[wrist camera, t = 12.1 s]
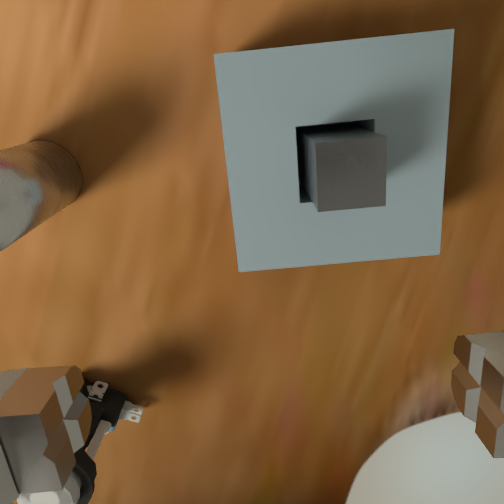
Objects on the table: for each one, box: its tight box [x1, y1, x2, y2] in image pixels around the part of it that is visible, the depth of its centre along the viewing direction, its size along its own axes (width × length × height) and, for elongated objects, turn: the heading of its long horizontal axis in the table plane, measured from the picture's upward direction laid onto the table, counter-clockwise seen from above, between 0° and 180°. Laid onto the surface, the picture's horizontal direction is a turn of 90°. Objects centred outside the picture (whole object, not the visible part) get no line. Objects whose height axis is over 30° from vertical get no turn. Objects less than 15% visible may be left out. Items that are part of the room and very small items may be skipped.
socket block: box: [214, 29, 454, 272], centre depth 26 cm, size 12×12×6 cm
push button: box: [17, 378, 144, 504], centre depth 31 cm, size 7×5×10 cm
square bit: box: [296, 123, 387, 212], centre depth 24 cm, size 3×3×9 cm
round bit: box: [0, 140, 82, 251], centre depth 25 cm, size 5×5×9 cm
